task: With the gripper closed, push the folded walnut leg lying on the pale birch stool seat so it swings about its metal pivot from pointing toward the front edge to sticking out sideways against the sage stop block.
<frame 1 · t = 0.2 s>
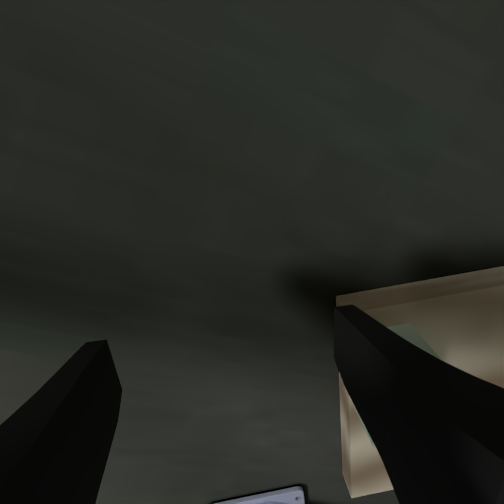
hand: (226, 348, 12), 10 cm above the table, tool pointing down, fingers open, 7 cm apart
stool seat: (440, 377, 28), on the table
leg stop: (367, 346, 26), resting on stool seat
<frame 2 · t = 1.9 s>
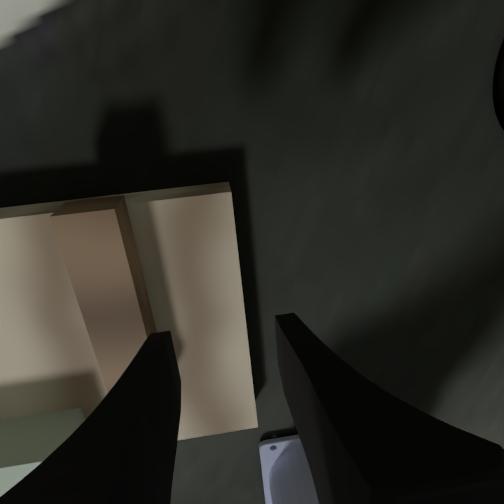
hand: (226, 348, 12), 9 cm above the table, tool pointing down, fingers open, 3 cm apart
stool seat: (94, 329, 22), on the table
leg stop: (50, 411, 24), resting on stool seat
stool leg: (122, 322, 18), point 3 cm above the table, hinge at 0.0°
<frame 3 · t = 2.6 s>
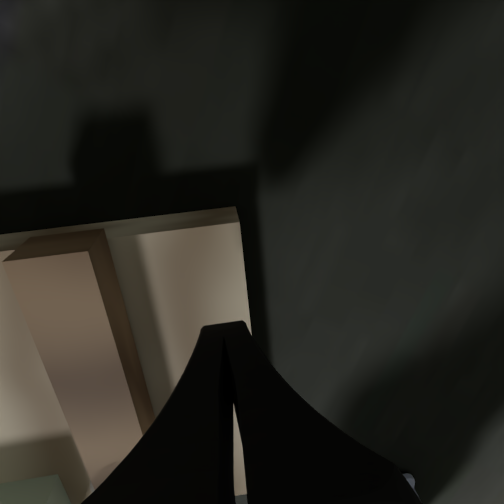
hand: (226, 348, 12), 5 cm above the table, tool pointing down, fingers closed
stool seat: (74, 379, 18), on the table
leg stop: (24, 470, 20), resting on stool seat
stool leg: (103, 383, 14), point 3 cm above the table, hinge at 0.0°
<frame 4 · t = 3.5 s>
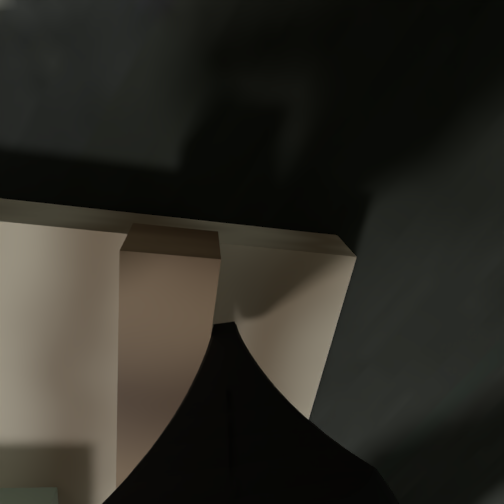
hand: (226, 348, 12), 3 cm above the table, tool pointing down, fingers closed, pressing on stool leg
stool seat: (100, 381, 16), on the table
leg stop: (5, 471, 17), resting on stool seat
stool leg: (161, 402, 13), point 3 cm above the table, hinge at 0.3°, touching gripper
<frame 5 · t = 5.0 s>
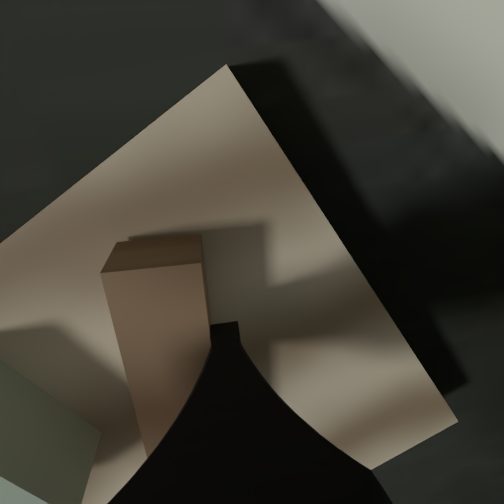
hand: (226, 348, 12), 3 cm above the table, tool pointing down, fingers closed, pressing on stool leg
stool seat: (200, 364, 16), on the table
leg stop: (27, 374, 15), resting on stool seat
stool leg: (183, 409, 13), point 3 cm above the table, hinge at 58.1°, touching gripper
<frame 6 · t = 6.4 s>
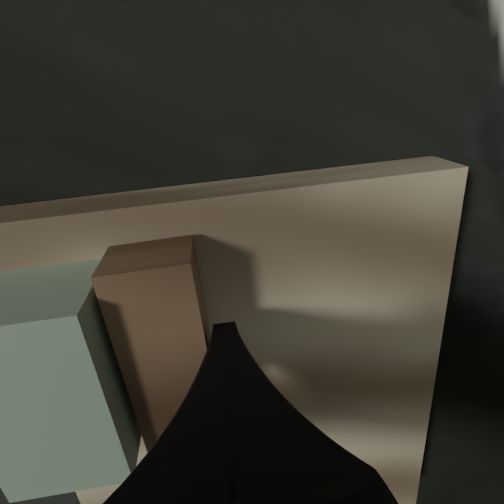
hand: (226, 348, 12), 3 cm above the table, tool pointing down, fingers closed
stool seat: (245, 372, 17), on the table
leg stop: (91, 310, 15), resting on stool seat
stool leg: (184, 409, 13), point 3 cm above the table, hinge at 90.8°, touching gripper
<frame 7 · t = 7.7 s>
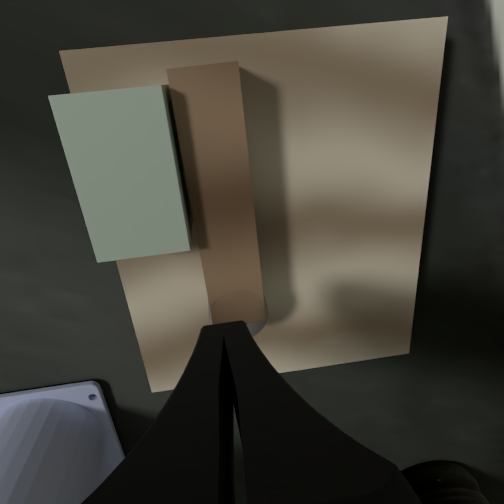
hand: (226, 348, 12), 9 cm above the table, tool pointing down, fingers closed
stool seat: (268, 223, 20), on the table
container: (421, 491, 33), on the table
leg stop: (146, 155, 18), resting on stool seat
stool leg: (224, 217, 16), point 3 cm above the table, hinge at 91.0°
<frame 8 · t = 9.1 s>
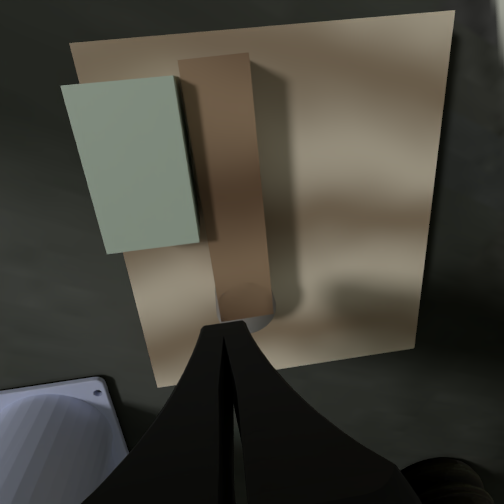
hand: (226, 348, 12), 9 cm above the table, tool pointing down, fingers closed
stool seat: (274, 217, 20), on the table
container: (425, 489, 33), on the table
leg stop: (154, 149, 18), resting on stool seat
stool leg: (232, 209, 16), point 3 cm above the table, hinge at 91.0°
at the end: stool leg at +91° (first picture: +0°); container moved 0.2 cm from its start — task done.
